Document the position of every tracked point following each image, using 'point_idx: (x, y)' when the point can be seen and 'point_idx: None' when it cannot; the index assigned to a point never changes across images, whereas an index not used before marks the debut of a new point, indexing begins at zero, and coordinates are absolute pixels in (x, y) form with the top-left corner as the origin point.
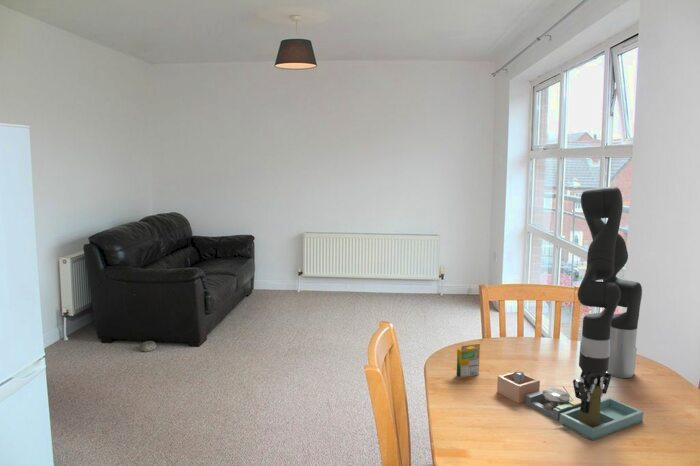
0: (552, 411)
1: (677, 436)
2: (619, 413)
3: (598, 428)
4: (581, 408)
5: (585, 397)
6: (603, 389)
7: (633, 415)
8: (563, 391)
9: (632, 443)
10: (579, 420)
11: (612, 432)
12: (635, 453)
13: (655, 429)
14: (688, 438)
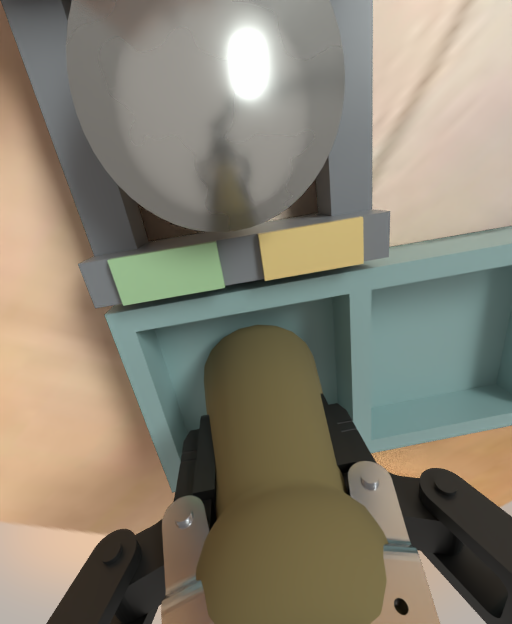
0: (108, 229)
1: (484, 484)
2: (485, 323)
3: None
4: (184, 450)
5: (149, 615)
6: (439, 563)
7: (469, 433)
8: (331, 71)
9: None
10: (205, 368)
11: None
12: None
13: (475, 439)
14: (498, 497)
